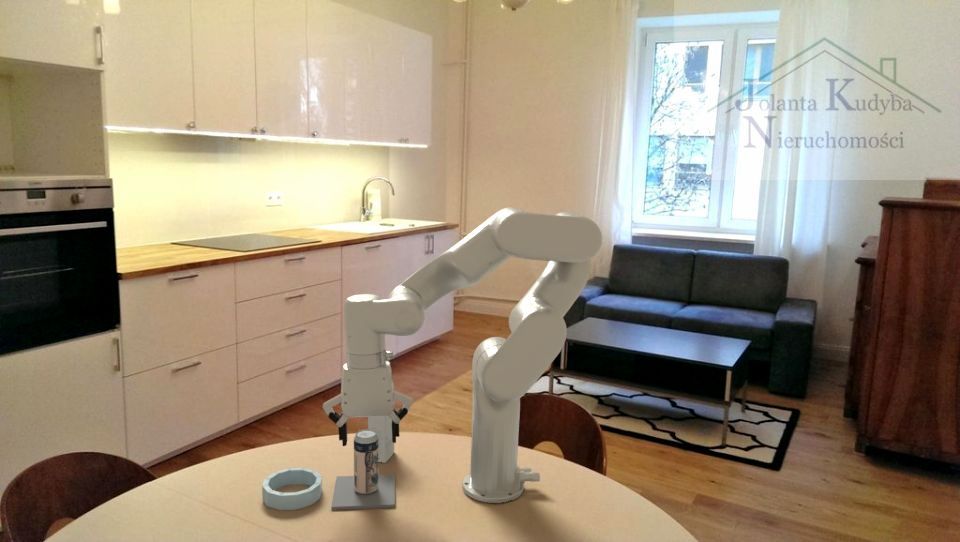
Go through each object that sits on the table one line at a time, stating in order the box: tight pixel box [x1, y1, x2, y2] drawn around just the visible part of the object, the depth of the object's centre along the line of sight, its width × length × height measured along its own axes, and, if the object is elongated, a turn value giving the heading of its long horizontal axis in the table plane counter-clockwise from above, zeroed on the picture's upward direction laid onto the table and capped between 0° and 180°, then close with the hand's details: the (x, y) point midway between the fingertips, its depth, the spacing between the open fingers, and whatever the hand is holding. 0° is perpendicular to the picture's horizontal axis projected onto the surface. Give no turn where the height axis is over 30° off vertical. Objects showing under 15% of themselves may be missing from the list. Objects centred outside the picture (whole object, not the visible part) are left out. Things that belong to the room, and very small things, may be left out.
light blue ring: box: [261, 467, 323, 511], centre depth 130 cm, size 11×11×3 cm
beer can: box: [353, 429, 379, 494], centre depth 131 cm, size 5×5×12 cm
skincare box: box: [367, 415, 395, 464], centre depth 147 cm, size 6×4×12 cm
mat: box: [330, 474, 396, 511], centre depth 132 cm, size 12×12×1 cm
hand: (369, 441), depth 131 cm, fingers open, 9 cm apart
